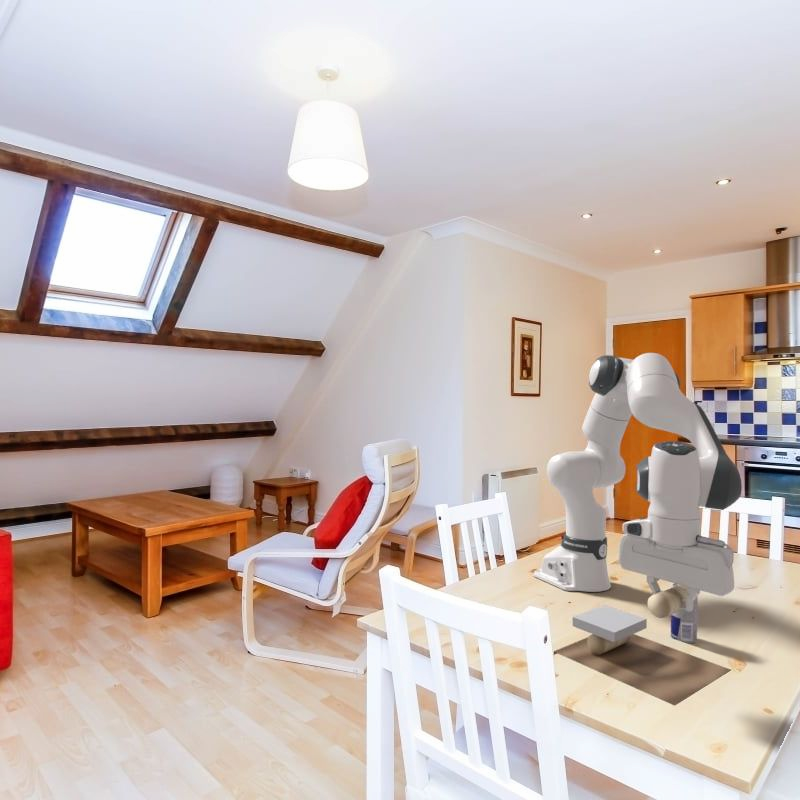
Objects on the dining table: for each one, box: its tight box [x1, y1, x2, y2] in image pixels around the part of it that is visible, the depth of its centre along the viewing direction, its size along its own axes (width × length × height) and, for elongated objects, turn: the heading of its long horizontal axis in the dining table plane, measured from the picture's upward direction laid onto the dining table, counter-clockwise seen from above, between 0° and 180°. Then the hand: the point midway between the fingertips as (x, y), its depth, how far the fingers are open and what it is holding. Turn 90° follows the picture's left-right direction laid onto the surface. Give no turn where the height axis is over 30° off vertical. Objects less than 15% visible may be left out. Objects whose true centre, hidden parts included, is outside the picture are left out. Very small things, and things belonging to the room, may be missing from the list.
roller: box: [647, 585, 698, 619], centre depth 106 cm, size 4×10×4 cm, turn 127°
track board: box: [553, 633, 732, 706], centre depth 118 cm, size 26×22×5 cm
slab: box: [572, 604, 648, 642], centre depth 123 cm, size 10×12×2 cm
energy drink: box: [670, 583, 699, 645], centre depth 131 cm, size 5×5×12 cm
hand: (672, 605), depth 106 cm, fingers closed on roller, 4 cm apart
